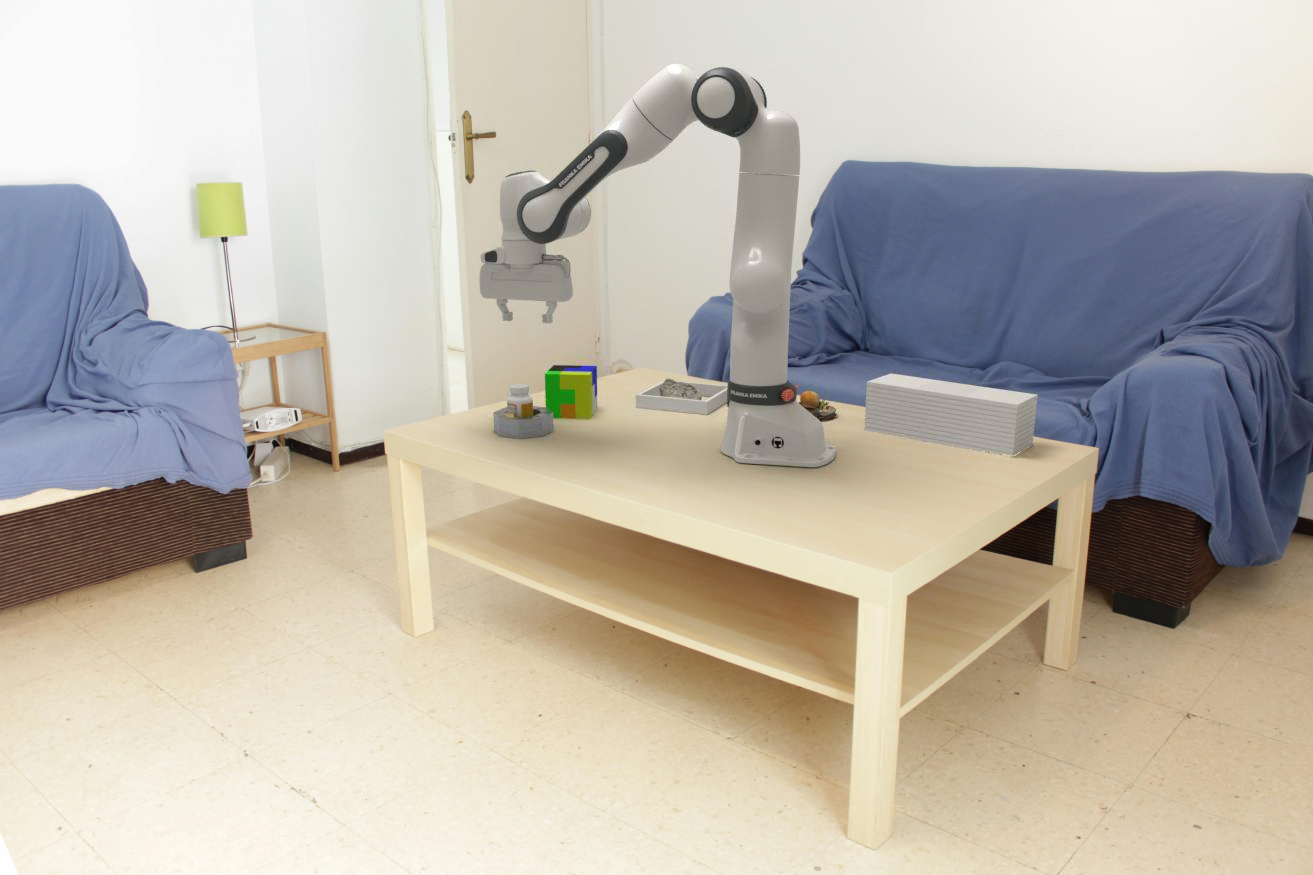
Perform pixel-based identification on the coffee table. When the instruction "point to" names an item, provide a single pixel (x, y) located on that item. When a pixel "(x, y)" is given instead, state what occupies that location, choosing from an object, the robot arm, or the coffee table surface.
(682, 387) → the rock sample
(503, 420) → the ring
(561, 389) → the puzzle toy
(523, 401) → the supplement bottle
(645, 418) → the coffee table surface
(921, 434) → the stack of papers
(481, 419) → the coffee table surface
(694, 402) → the grey sample tray
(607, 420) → the coffee table surface
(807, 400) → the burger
